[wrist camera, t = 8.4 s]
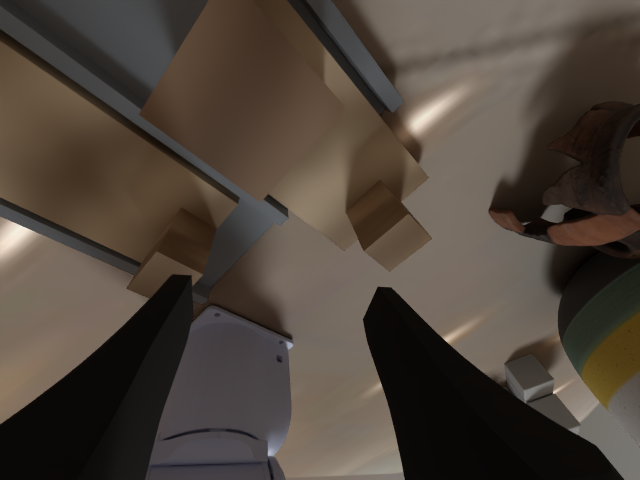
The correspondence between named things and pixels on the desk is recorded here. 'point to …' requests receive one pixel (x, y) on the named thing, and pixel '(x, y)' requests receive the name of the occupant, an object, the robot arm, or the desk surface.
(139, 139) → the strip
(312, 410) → the desk surface
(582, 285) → the planter
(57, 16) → the tray board
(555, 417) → the puzzle cube
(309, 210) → the brown angular piece
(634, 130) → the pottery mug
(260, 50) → the walnut block
